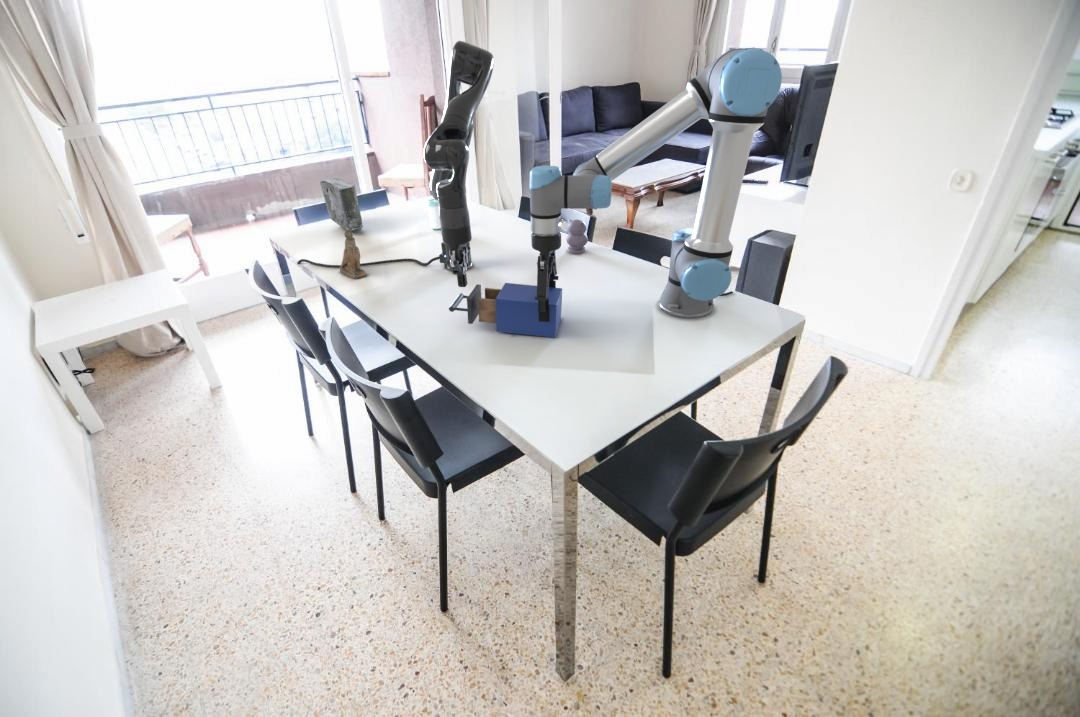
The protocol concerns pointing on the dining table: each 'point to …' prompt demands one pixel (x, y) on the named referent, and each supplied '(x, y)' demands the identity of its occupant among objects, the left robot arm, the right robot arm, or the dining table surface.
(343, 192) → the concrete block
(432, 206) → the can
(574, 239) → the cat figurine
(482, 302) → the drawer
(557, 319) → the cabinet
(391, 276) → the dining table surface
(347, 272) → the worn brown figurine
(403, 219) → the dining table surface
